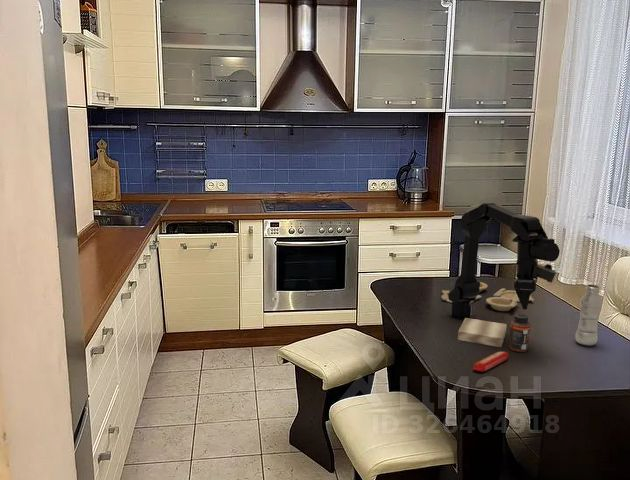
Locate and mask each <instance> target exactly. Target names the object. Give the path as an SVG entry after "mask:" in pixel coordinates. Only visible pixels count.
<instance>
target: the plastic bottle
mask: <svg viewBox="0 0 630 480" xmlns="http://www.w3.org/2000/svg"><path fill="white" fill-rule="evenodd" d="M585 291H586V292H585V294H583V296H581V298H580V299H579V300H580V301H579V302H580V305H579V307H580V311H579V313H580V314H579V322H578V326H577V329H576V331H575V336H574V337H575V340H576V342H577V343H578V344H580V345H583V346H589V347H590V346H591V347H592V346H594V345H596V344H597V342H598V339H599V337H598V336H599V335H598V323H599V318H600V314H601V310H602V307H603V299H602V297H601V296H600V294H599V293H600V286H599V285H597V284H592V283H591V284H587V285H586V289H585Z"/></svg>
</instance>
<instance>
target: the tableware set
mask: <svg viewBox="0 0 630 480" xmlns="http://www.w3.org/2000/svg"><path fill="white" fill-rule="evenodd" d="M479 282H480V287H479V290H480V292H478V295H477V296H476V299H475V301H476V300H478V299H481V298H482V296H481V295H480V294H479V293H481V292H482V291H483V290H486V289H487V288H488V284H487V283H484V282H481V281H479ZM441 293H442V295H441V296H440V297H441V299H442V301H445V302H448V303H451V304H452V301H450V300H449V298H448V294H449V293H450V290H444V289H442V290H441ZM492 296H493V297H488V298H486V299H485V302H486V303H487V304H488V305H490V307H491V308H492V309H493V310H496V311H498V312H509V311H511V309H512V308H515V307H516V306H518V303H520V300H519V298H518V296H517V293H516V291H515V290H507V289H506V288H501V289H499V290H497V291H496V292H495V293H494V294H493V295H492ZM534 300H535V299H534V298H533V297H532V295H531V294H530V298H529V301H531V302H534ZM475 301H471V304H472V303H473V302H475Z"/></svg>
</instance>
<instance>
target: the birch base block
mask: <svg viewBox="0 0 630 480" xmlns="http://www.w3.org/2000/svg"><path fill="white" fill-rule="evenodd" d="M462 321H463V322H462V323H461V325H460V327H459V329H458V331H457V341H461V342H462V341H463V342H468V343H474V344H480V345H486V346H492V347H498V348H502V347H503V344H504V340H505V338H506V337H505V336H506V333H507V325H508V324H507V323H502V322H493V321H488V320H484V319H483V320H481V319H477V318H476V319H474V318H471V317H469V318H465V319H463V320H462Z"/></svg>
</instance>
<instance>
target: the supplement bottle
mask: <svg viewBox="0 0 630 480" xmlns="http://www.w3.org/2000/svg"><path fill="white" fill-rule="evenodd" d="M530 334H531V323H530V321H529V316H528V315H526V314H523V313H516V314H514V319H513V320H512V321H511V322H510V329H509V338H508V339H509V340H508V348H509V349H510V350H511V351H514V352H518V353H524V352H527V351H528V350H529V342H530Z"/></svg>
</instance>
